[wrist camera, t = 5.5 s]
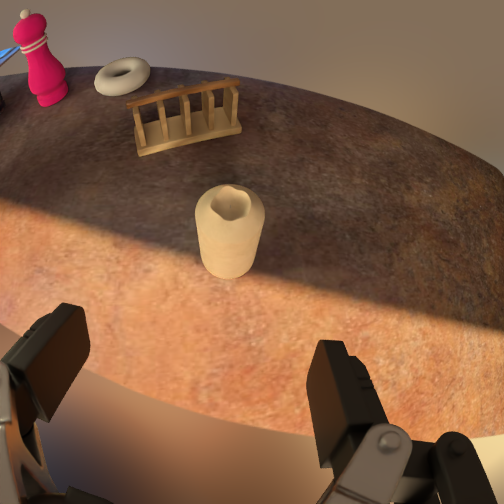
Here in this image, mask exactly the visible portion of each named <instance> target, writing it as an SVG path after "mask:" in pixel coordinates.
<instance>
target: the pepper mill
mask: <svg viewBox="0 0 504 504" xmlns="http://www.w3.org/2000/svg"><path fill="white" fill-rule="evenodd" d="M20 17H21V18H22V20H20V21H19V22H18V23H17V25H16V26H15V28H14V31H13V37H14V40H15V42H16V43H18V44H21V47H20V49H22V53H24V54H25V55H26V57H27V60H28V65H29V76H28V82H29V87H30V90H31V92H32V93H33V94H36V95H37V99H38V102H39V104H40V105H41V106H43V107H46V106H50V105H53V104H55V103H57V102H58V101H60V100H61V99H62V98H63V97H64V96H65V95H66V94H67V92H68V86H67V83H66V81H65V80H63V79H64V77H65V69H64V67H63V65H62V64H61V63H60V62H59V61H58V60H57V59H56V58H55V57H54V56H53V55H52V54H51V52H50V51H49V48H48V46H47V39H48V37H47V36H46V35H47V33H45V32H44V31H45V28H46V24H47V23H46V19H45V18H44V16H43V15H41V14H31V15H30V10H29V9H25V10H23V11H22V12H21V14H20Z"/></svg>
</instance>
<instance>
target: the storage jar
mask: <svg viewBox="0 0 504 504" xmlns="http://www.w3.org/2000/svg"><path fill="white" fill-rule="evenodd" d="M4 108H5V102H4V100H3V98H2V96H1V93H0V115H1V113H2V112H3V110H4Z"/></svg>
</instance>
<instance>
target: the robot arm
mask: <svg viewBox="0 0 504 504" xmlns="http://www.w3.org/2000/svg"><path fill="white" fill-rule="evenodd" d="M89 353H90V339H89V334H88V329H87V323H86V317H85V312H84V309H83V308H82V307H81V306H76V305H72V304H68V303H61V304H60V305H59V306H58V307H57V308H56V309H55V310H54V311H53V312H52V313H49V314H47V315H45V316H43V317H41V318H40V319H38V320H37V321H36V322H35V323H34V324H33V325H32V326H31V327H30V330H27V331H26V332H25V333H24V335H23V337H21V338H20V339H19V340H18V341H17V342H16V343H15V344H14V346H13V347H12V348H11V349H10V350H9V351H8V352H7V353H6V354H5V356H4V357H3V358H2V359H1V360H0V504H113V503H112V502H110V501H108V500H106V499H104V498H101V497H98V496H95V495H92V494H89V493H86V492H84V491H81V490H79V489H76V488H74V487H71V486H69V487H68V490H67V492H66V494H65V493H59V492H58V490H57V488H56V486H55V485H54V482H53V481H52V479H51V477H50V475H49V472H48V469H47V466H46V462H45V458H44V454H43V450H42V446H41V442H40V437H39V433H38V428H37V425H36V424H35V420H36V419H37V418H39V419H41V420H43V421H45V422H48V423H49V422H50V420H51V418H52V416H53V415H54V413H55V411H56V409H57V408H58V406H59V404H60V403H61V401H62V399H63V397H64V396H65V394H66V392H67V391H68V389H69V387H70V386H71V384H72V382H73V381H74V379H75V377H76V376H77V374H78V373H79V371H80V370H81V368H82V366H83V365H84V363H85V362H86V360H87V358H88V356H89ZM306 389H307V395H308V401H309V406H310V411H311V417H312V422H313V428H314V434H315V439H316V445H317V450H318V456H319V462H320V468H332V469H333V474H334V479H333V481H332V482H331V483H330V485H329V486H328V488H327V489H326V491H325V492H324V493H323V495H322V496H321V498H320V499H319V500H318V501H317V503H316V504H390V502H394V504H440V500H441V503H442V504H498V503H497V501H496V498H495V495H494V493H493V490H492V488H491V485H490V483H489V480H488V478H487V475H486V473H485V471H484V469H483V466H482V464H481V461H480V459H479V457H478V455H477V453H476V450H475V448H474V446H473V444H472V442H471V441H470V440H469V439H468V438H467V437H466V436H465V435H463V434H461V433H459V432H453V431H452V432H446V433H444V434H443V435H441V436H440V438H439V439H438V440H437V441H436V442H435V443H432V442H423V441H415V440H411V438H410V437H409V435H408V434H407V433H406V432H405V431H404V430H403V429H402V428H400V427H398V426H396V425H393V424H389V422H388V419H387V417H386V414H385V412H384V409H383V407H382V404H381V402H380V400H379V397H378V395H377V392H376V390H375V389H374V385H373V383H372V380H370V376H369V373H368V371H367V369H366V366H365V365H364V364H363V363H362V362H361V361H360V360H359V359H358V358H357V357H356V356H349V355H348V352H347V350H346V347H345V345H344V343H343V341H336V340H319V342H318V344H317V347H316V350H315V353H314V356H313V359H312V362H311V366H310V369H309V372H308V375H307V382H306ZM437 493H438V494H439V497H440V500H439V498H438V494H437Z"/></svg>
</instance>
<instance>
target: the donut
mask: <svg viewBox="0 0 504 504" xmlns="http://www.w3.org/2000/svg"><path fill="white" fill-rule="evenodd" d="M149 75H150V66H149V64H148V63H147V62H146V61H145V60H143V59H141V58H137V57H128V58H122V59H119V60H116V61H113V62H111V63H109V64H107V65H106V66H104V67H103V68H102V69H101V70H100V71H99V72H98V74H97V75H96V77H95V82H94V85H95V87H96V89H97V91H98V92H100V93H101V94H103V95H107V96H119V95H123V94H127V93H129V92H132V91H134V90H136V89H137V88H139V87H141V86H142V85H143V84H144V83H145V82H146V81H147V79H148V77H149Z"/></svg>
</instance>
